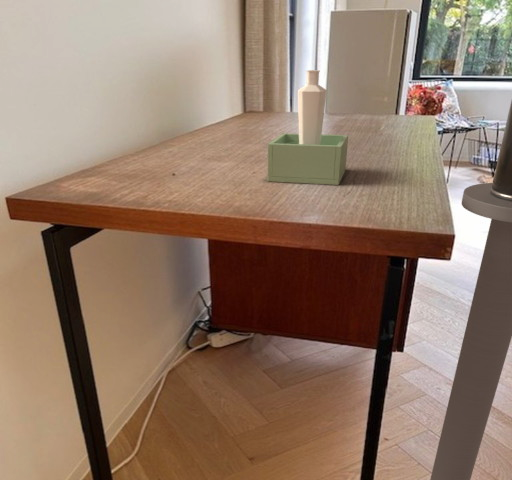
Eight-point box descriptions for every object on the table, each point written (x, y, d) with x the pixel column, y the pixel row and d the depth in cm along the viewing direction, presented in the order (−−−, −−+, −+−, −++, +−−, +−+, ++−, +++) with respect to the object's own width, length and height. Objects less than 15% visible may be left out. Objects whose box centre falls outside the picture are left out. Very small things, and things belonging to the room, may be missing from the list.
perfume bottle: (322, 168, 86) (328, 69, 79) (321, 174, 83) (327, 71, 75) (295, 167, 87) (299, 70, 79) (293, 173, 83) (297, 71, 76)
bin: (345, 170, 89) (348, 135, 86) (338, 185, 79) (341, 146, 76) (281, 167, 92) (282, 133, 89) (267, 181, 82) (267, 143, 79)
